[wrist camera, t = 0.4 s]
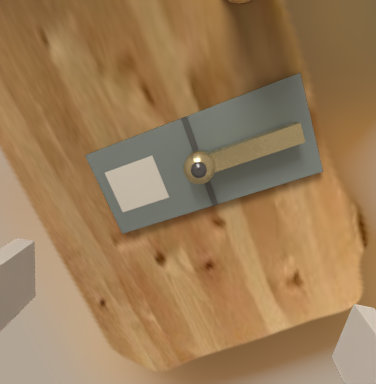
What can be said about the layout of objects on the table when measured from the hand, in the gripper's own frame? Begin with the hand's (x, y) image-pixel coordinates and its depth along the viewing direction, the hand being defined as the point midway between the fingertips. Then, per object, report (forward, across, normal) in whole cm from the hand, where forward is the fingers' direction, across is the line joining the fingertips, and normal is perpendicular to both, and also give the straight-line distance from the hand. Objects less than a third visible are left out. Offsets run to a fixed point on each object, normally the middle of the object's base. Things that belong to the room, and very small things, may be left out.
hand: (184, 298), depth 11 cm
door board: (+26, -1, +1) cm, 26 cm away
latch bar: (+24, +4, +4) cm, 24 cm away
